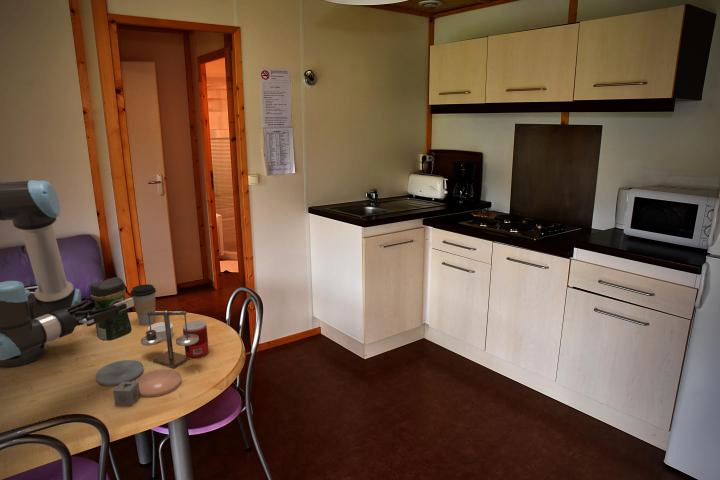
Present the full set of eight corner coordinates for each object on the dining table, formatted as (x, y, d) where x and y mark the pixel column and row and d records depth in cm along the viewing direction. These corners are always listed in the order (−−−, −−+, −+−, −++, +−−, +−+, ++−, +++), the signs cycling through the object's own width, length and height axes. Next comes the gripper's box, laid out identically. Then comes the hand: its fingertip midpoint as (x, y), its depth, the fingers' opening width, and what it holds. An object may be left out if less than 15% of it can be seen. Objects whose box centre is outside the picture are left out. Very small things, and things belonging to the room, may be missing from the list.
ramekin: (155, 331, 191) (154, 321, 190) (177, 332, 191) (176, 321, 190) (144, 342, 183) (143, 331, 181) (168, 342, 182) (167, 331, 181)
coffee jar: (121, 327, 162) (114, 273, 157) (135, 332, 158) (128, 278, 153) (92, 338, 154) (84, 282, 150) (106, 344, 150) (98, 287, 145)
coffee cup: (150, 328, 194) (146, 292, 190) (129, 326, 196) (124, 291, 192) (164, 318, 203) (160, 284, 199) (143, 316, 205) (139, 282, 201)
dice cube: (140, 396, 148) (138, 381, 146) (131, 406, 143) (129, 391, 142) (124, 396, 148) (122, 381, 147) (115, 405, 143) (113, 390, 142)
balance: (138, 357, 171) (131, 304, 166) (154, 349, 177) (148, 297, 172) (190, 373, 160) (184, 317, 155) (205, 364, 166) (200, 309, 161)
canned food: (213, 350, 176) (210, 322, 173) (197, 360, 169) (194, 331, 166) (197, 346, 179) (194, 318, 176) (180, 356, 172) (177, 327, 169)
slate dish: (86, 379, 157) (85, 375, 156) (124, 360, 169) (123, 356, 169) (116, 390, 151) (115, 386, 150) (153, 369, 163) (152, 365, 162)
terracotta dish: (123, 390, 151) (122, 386, 150) (159, 369, 163) (159, 365, 162) (155, 401, 145) (155, 397, 144) (191, 379, 157) (190, 375, 156)
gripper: (33, 331, 143) (103, 305, 163) (79, 345, 134) (147, 315, 154) (29, 307, 141) (100, 283, 161) (75, 320, 132) (144, 293, 152)
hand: (123, 299), depth 158 cm, fingers closed on coffee jar, 8 cm apart
